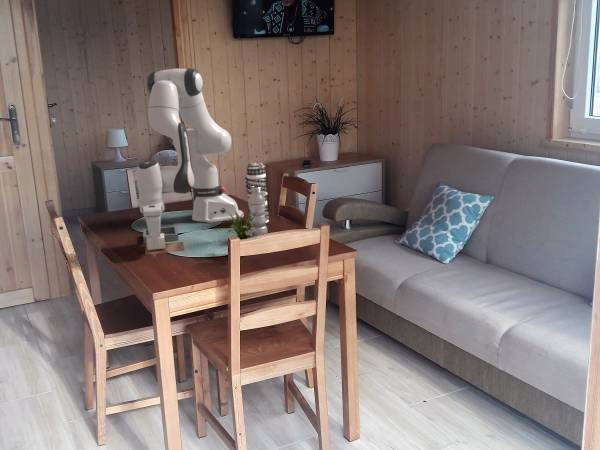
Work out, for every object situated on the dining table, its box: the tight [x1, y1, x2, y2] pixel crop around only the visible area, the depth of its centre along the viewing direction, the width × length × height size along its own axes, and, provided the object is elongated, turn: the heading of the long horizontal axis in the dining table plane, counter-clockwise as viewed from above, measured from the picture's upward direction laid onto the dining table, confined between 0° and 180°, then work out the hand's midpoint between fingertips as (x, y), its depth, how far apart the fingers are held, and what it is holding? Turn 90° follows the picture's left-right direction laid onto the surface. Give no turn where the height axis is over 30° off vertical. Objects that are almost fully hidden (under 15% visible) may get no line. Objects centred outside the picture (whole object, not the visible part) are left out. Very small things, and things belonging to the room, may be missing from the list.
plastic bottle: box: [247, 186, 268, 238], centre depth 256 cm, size 6×7×20 cm
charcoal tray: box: [142, 225, 180, 245], centre depth 261 cm, size 13×13×4 cm
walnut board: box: [144, 241, 185, 256], centre depth 247 cm, size 14×12×6 cm
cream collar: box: [146, 233, 166, 250], centre depth 246 cm, size 6×6×4 cm
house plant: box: [222, 211, 258, 240], centre depth 237 cm, size 14×14×16 cm
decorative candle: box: [244, 161, 270, 224], centre depth 280 cm, size 9×9×25 cm
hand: (155, 242), depth 246 cm, fingers closed on cream collar, 6 cm apart
